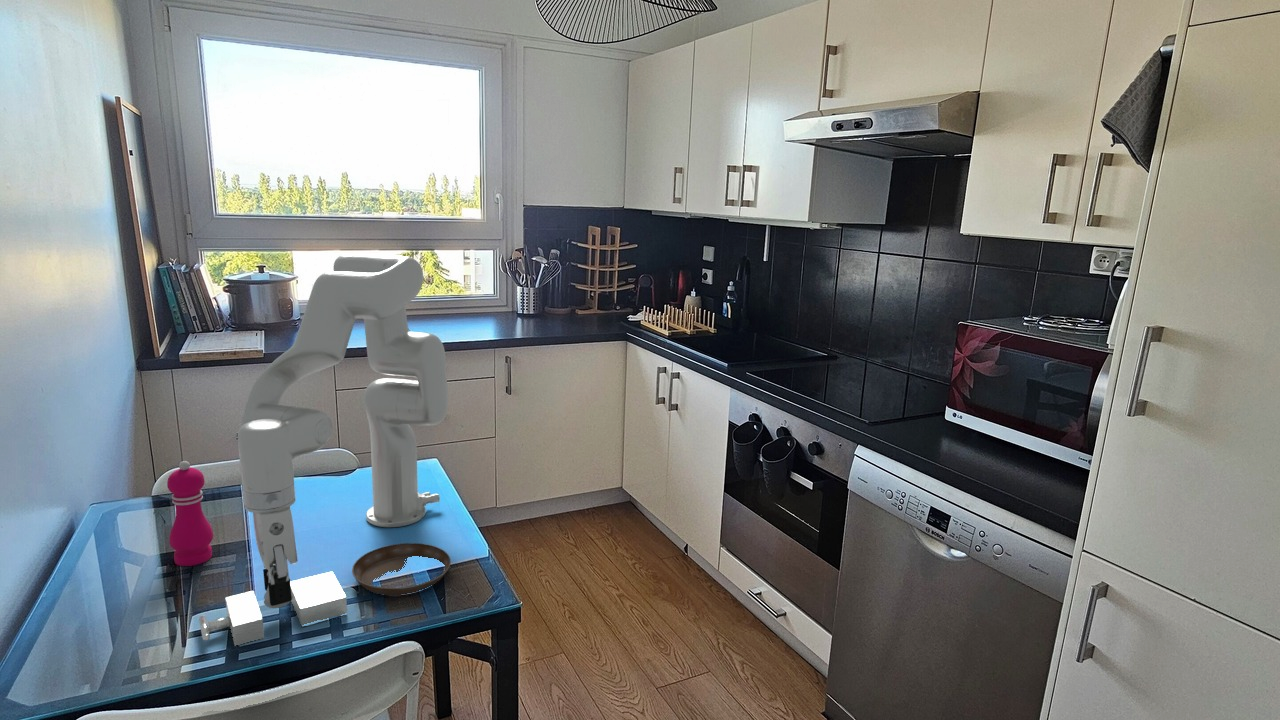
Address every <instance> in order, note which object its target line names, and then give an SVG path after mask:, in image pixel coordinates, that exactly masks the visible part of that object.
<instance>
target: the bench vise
mask: <svg viewBox="0 0 1280 720" xmlns="http://www.w3.org/2000/svg"><path fill="white" fill-rule="evenodd" d="M290 584H291V590H292V595H293V599H292V600H291V602H292V603H291V602H290V603H291V605H292V604H293V605H292V607H293V606H294V608H293V610H294V609H295V610H294V612H295V611H296V613H297V615H296V617H297V616H298V618H299V620H300V622H299V624H300V623H301V625H304V624H307V623H311V622H314V621H317V620H323V619H327V618H331V617H335V616H340V615H342V614H345V613H347V614H348V607H347V604H348V603H347V596H346V593H345V592H344V590H343V588H342V586H341V585H340V583H339V581H338V579H337V577H336V575H335V574H334V572H333V571H329V572H325V573H320V574H317V575H313V576H308V577H304V578H300V579H296V580H292V581H291V580H290ZM259 606H260V605H259V604H258V601H257V598H256V594H255V591H254V590H250V591H246V592H242V593H238V594H234V595H230V596H225V608H226V616H224V617H221V618H216V619H213V620H209V621H207V617H206V615H200V616H199V617H198V621H199V622H198V623H199V626H200V627H199V628H200V632H201V637H202V640H203V641H208V640H209V639H210V637H211V635H210V632H213V631H217V630H221V629H225V628H229V629H231V630H230V632H231V633H232V634H231V637H233V638H232V641H233V644H234V647H237V646H236V645H238V646H241V645H240V644H242V645H244V644H243V643H245V644H247V643H246V642H249V643H251V642H250V641H253V642H255V641H254V640H256V641H259V640H258V639H260V640H262V639H261V638H263V639H265V631H264V620H263V615H262V613H261V610H260V607H259ZM296 613H295V614H296ZM298 618H297V619H298ZM299 620H298V621H299ZM301 625H300V626H301Z"/></svg>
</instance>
